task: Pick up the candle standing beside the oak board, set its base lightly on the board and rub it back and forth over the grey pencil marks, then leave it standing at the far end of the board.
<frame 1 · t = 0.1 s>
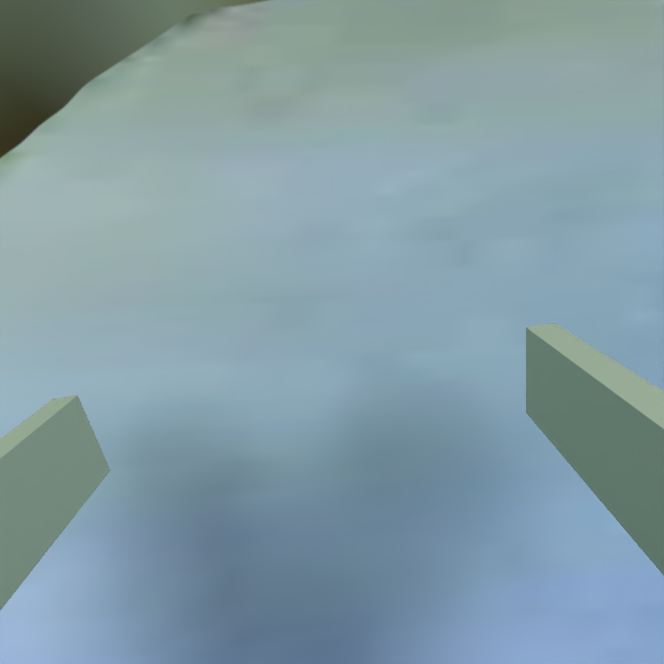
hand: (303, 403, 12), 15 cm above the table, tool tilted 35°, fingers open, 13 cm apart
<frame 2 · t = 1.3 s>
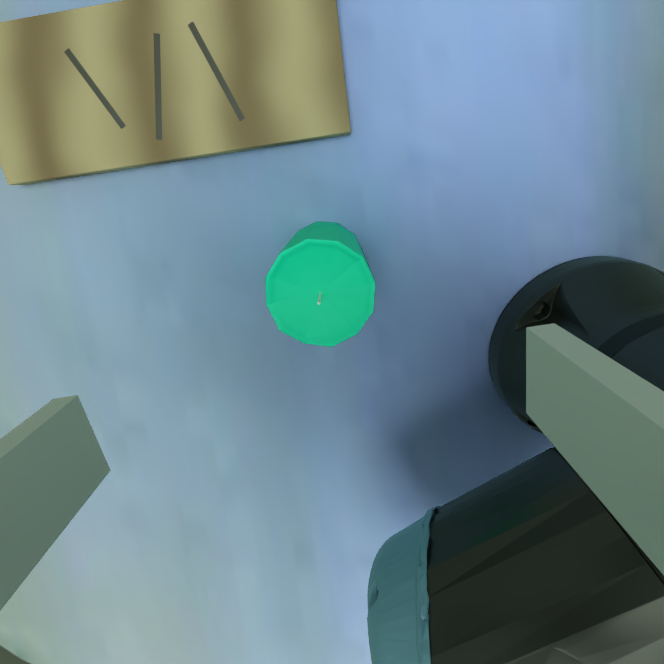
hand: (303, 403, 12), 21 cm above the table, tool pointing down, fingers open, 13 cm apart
oak board: (165, 88, 27), on the table
candle: (325, 260, 31), on the table
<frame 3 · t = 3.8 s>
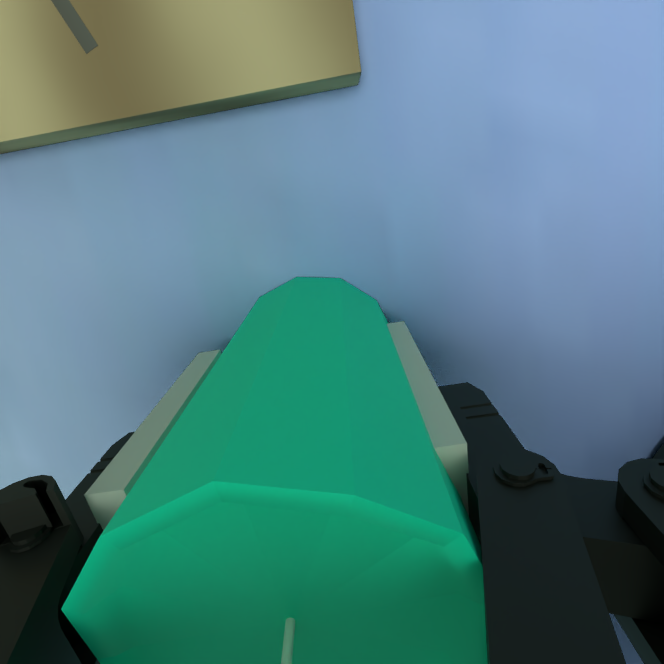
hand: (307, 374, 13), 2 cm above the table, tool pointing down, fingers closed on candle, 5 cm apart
candle: (317, 350, 15), on the table, touching gripper
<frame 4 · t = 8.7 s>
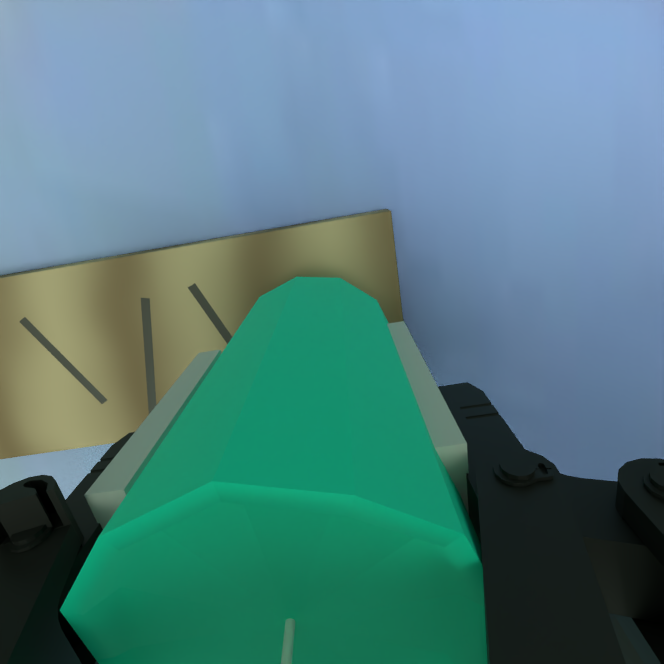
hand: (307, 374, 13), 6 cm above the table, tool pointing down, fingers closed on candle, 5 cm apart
oak board: (160, 341, 20), on the table
candle: (317, 350, 15), point 4 cm above the table, touching gripper
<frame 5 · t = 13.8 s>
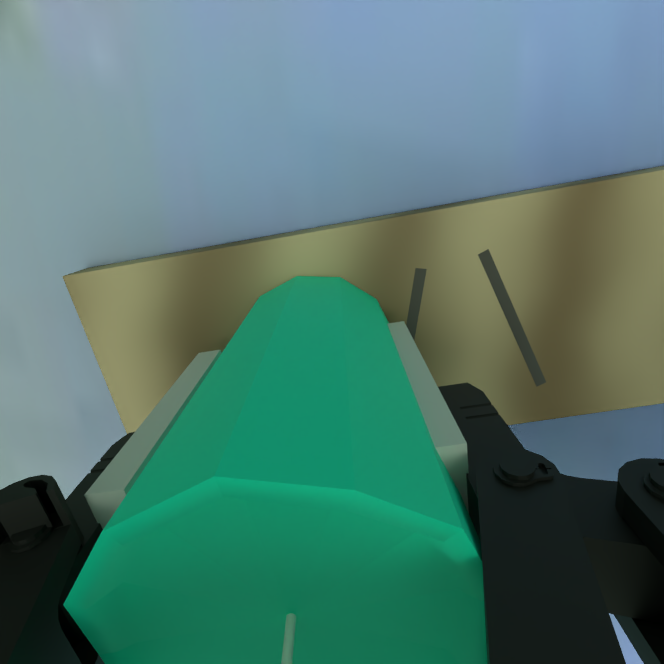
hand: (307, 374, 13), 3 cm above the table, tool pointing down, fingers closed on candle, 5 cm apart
oak board: (400, 325, 17), on the table
candle: (317, 349, 15), point 1 cm above the table, touching gripper
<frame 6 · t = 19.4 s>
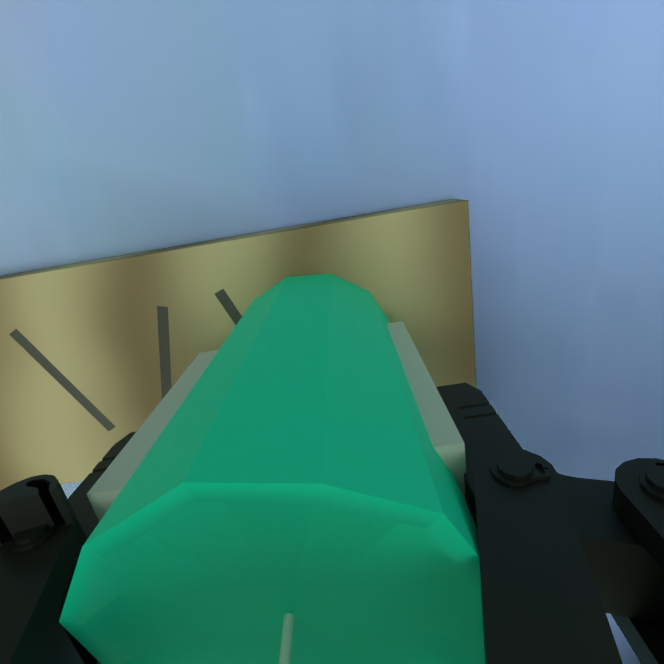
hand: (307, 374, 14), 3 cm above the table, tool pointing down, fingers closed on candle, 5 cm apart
oak board: (177, 356, 17), on the table
candle: (316, 347, 15), point 1 cm above the table, touching gripper
when the fingers open (3 cm above the table, at t = 24.2 s): candle stays where it is, resting on oak board.
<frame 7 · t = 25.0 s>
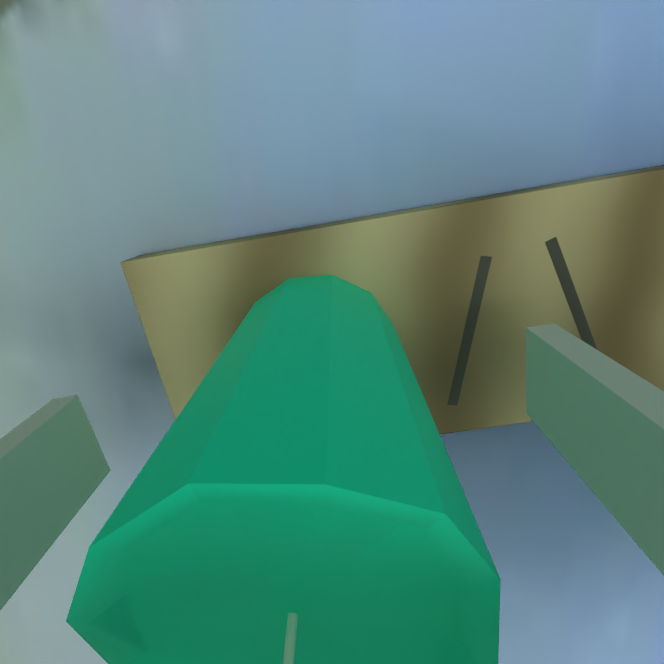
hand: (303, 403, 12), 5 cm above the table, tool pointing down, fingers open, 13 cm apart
oak board: (456, 316, 16), on the table
candle: (318, 348, 15), point 1 cm above the table, touching oak board
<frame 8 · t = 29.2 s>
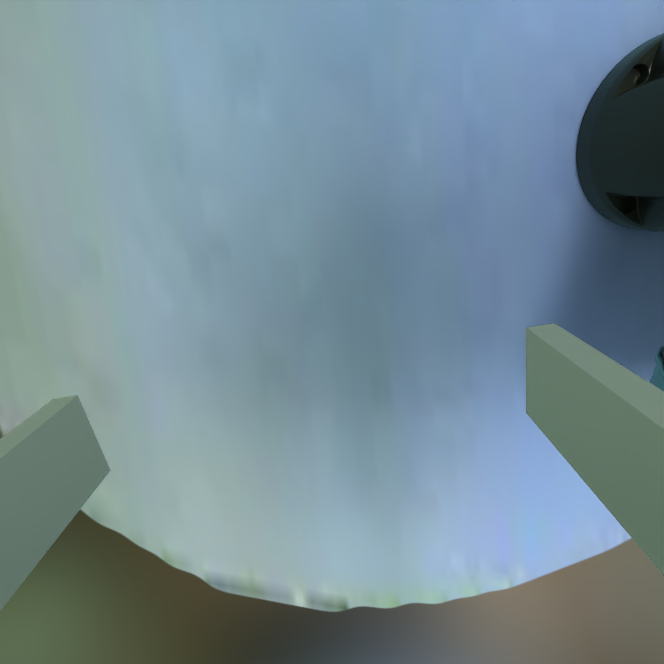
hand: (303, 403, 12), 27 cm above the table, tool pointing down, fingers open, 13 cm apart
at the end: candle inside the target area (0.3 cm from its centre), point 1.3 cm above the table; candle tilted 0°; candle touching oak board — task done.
